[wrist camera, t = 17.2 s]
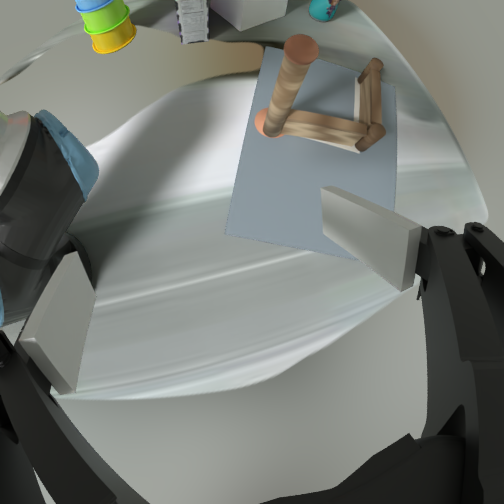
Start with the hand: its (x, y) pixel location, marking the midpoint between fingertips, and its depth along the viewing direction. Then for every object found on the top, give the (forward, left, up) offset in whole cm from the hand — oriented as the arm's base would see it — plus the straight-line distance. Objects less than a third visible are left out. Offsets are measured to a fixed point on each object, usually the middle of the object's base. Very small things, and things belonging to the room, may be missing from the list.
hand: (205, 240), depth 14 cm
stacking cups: (-33, +41, -30) cm, 60 cm away
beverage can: (+10, +57, -30) cm, 65 cm away
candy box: (-16, +46, -30) cm, 57 cm away
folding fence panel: (+10, +22, -29) cm, 38 cm away
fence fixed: (+20, +31, -29) cm, 47 cm away
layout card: (+14, +22, -30) cm, 39 cm away
